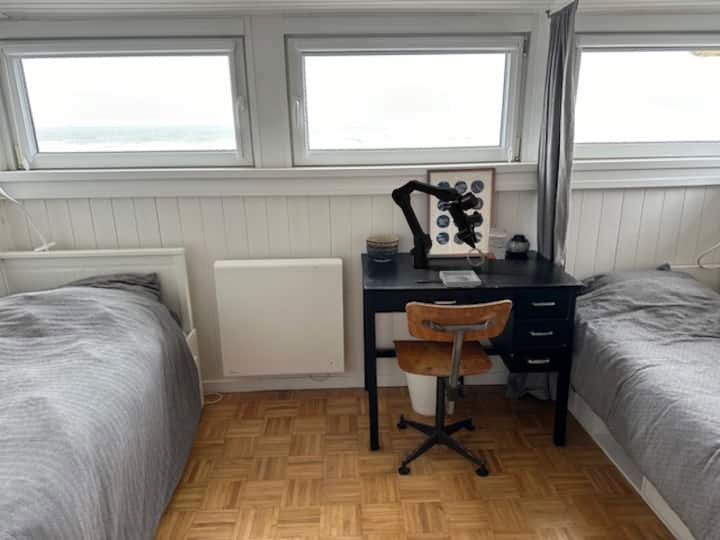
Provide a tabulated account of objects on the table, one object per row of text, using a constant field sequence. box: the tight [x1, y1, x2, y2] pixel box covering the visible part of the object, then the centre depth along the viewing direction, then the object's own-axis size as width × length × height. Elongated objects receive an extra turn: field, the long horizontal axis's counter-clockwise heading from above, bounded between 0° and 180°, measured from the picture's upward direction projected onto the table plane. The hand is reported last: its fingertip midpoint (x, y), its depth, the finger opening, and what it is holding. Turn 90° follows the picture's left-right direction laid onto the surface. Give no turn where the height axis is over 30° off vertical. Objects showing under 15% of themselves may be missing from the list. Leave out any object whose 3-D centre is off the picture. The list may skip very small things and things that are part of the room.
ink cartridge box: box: [486, 227, 508, 261], centre depth 241 cm, size 9×5×15 cm, turn 71°
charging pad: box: [415, 270, 482, 286], centre depth 209 cm, size 26×15×3 cm, turn 91°
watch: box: [466, 247, 486, 275], centre depth 221 cm, size 6×8×11 cm
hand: (475, 245), depth 215 cm, fingers open, 9 cm apart
